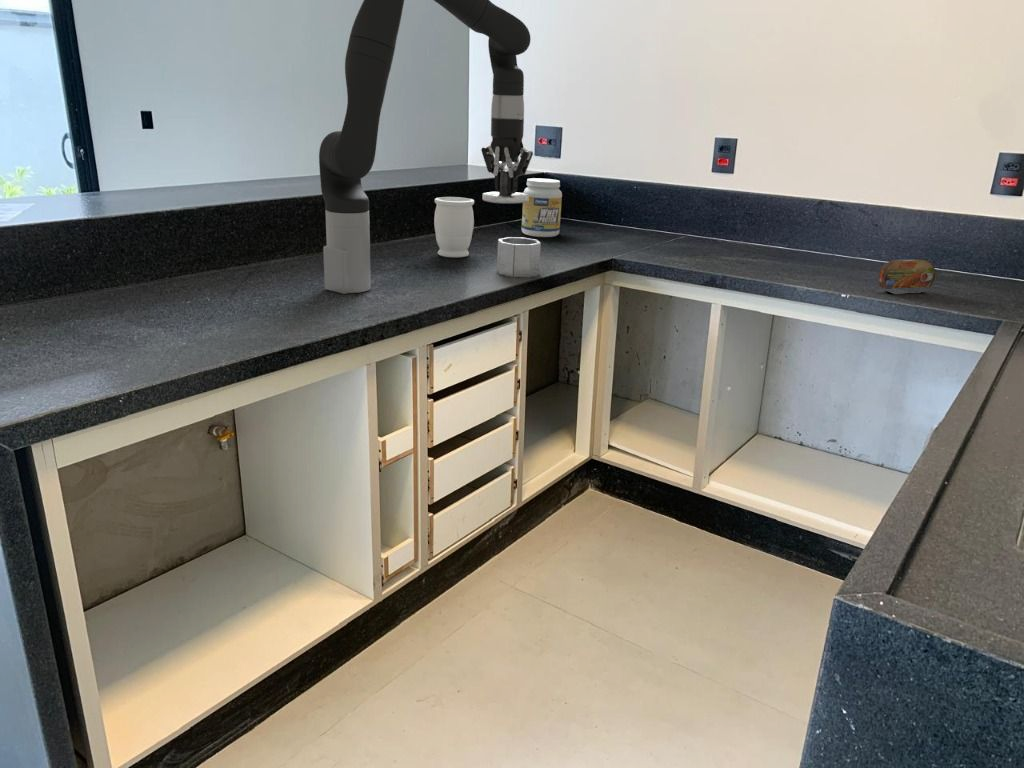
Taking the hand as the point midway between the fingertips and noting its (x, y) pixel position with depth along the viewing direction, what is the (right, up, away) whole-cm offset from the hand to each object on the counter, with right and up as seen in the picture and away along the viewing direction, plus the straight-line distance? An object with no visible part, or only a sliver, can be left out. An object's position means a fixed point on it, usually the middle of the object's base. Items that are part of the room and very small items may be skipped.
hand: (505, 192), depth 188 cm
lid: (0, -2, +1) cm, 2 cm away
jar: (-15, -11, +28) cm, 33 cm away
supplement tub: (+10, +2, +64) cm, 65 cm away
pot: (+3, -18, +11) cm, 21 cm away
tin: (+99, -23, +10) cm, 102 cm away
